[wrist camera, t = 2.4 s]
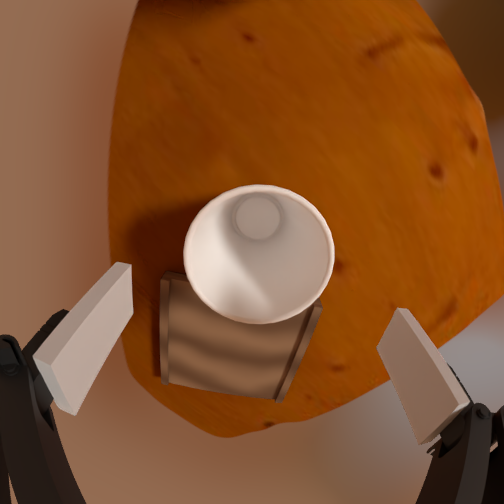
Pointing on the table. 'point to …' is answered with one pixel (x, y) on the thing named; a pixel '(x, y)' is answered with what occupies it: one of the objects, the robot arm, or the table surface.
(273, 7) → the table surface
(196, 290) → the cup
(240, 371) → the board
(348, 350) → the table surface
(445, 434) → the robot arm
